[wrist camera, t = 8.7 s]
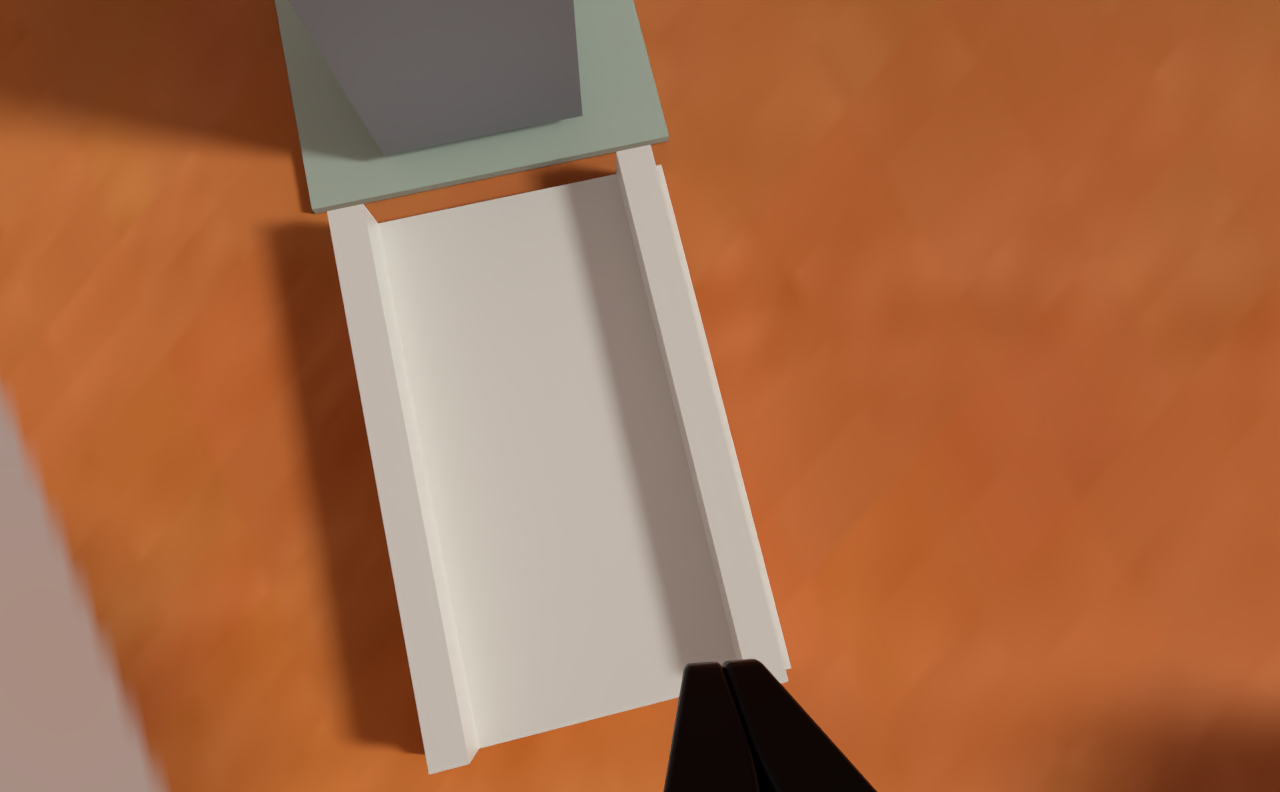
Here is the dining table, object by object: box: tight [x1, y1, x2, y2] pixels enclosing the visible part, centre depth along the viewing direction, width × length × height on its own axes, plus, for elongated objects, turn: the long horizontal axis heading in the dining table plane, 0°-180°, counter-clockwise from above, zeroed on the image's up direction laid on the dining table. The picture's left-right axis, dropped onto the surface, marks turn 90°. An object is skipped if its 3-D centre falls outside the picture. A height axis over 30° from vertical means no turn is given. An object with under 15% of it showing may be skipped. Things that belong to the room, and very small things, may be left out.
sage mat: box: [275, 0, 669, 214], centre depth 25 cm, size 10×11×1 cm
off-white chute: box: [327, 145, 791, 774], centre depth 22 cm, size 15×10×2 cm, turn 14°
